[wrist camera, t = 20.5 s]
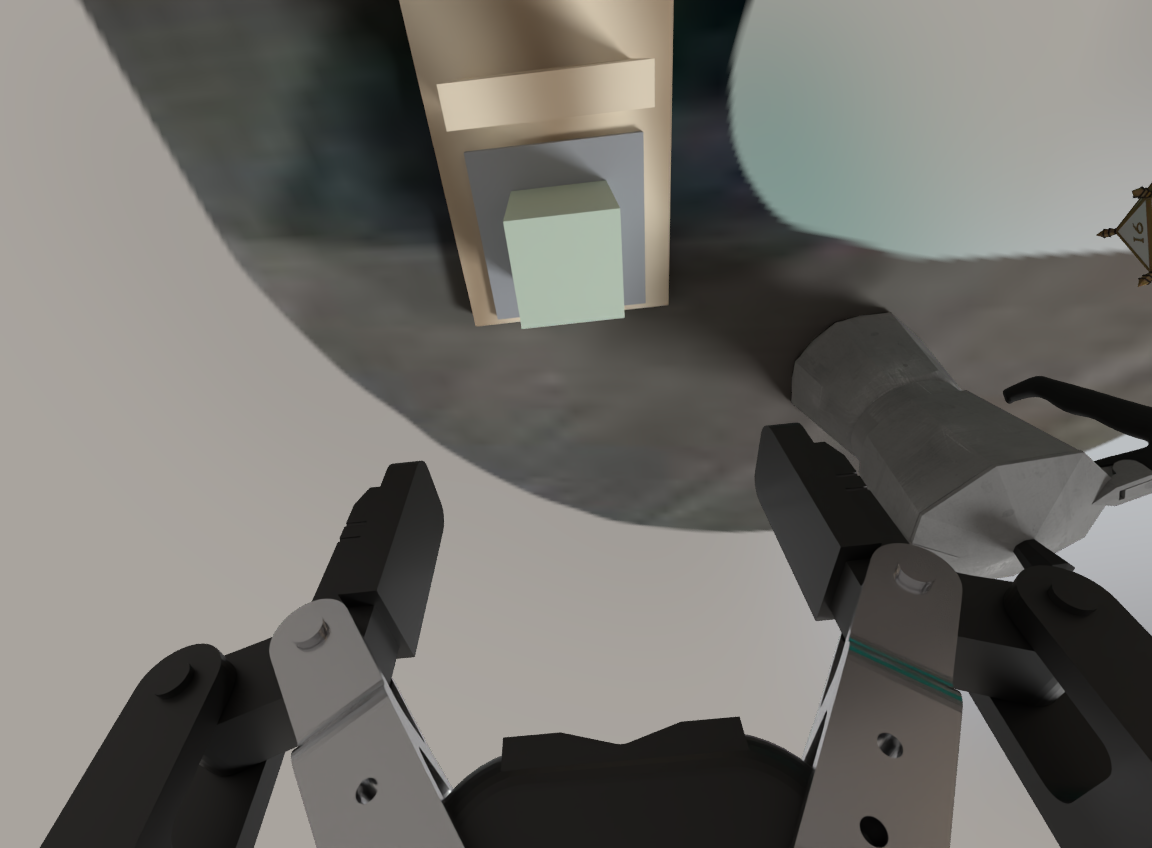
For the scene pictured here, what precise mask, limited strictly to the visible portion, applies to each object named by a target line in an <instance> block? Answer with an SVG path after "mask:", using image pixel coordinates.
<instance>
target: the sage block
mask: <svg viewBox="0 0 1152 848" xmlns="http://www.w3.org/2000/svg"><path fill="white" fill-rule="evenodd" d="M503 224H504V230H505V236H506V241H507V247H508V253H509V258H510V264H511V270H512V275H513V281H514V287H515V293H516V298H517V304H518V310H519V315H520V321H521V327H522V329H527V328H536V327H545V326H554V325H563V324H572V323H581V322H590V321H599V320H608V319H617V318H625V314H624V289H623V264H622V239H621V214H620V207H619V205H618V203H617V201H616V199H615V197H614V195H613V193H612V191H611V189H610V187H609V185H608V183H607V181H606V180H604V181H595V182H587V183H578V184H569V185H561V186H552V187H543V188H535V189H526V190H517V191H511V193H510V197H509V200H508V204H507V208H506V212H505V216H504V220H503Z"/></svg>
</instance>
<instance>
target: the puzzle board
mask: <svg viewBox="0 0 1152 848" xmlns="http://www.w3.org/2000/svg"><path fill="white" fill-rule="evenodd" d="M399 2H400V6H401V10H402V15H403V19H404V23H405V27H406V32H407V36H408V40H409V44H410V49H411V53H412V57H413V61H414V66H415V70H416V74H417V78H418V83H419V87H420V91H421V95H422V100H423V104H424V108H425V112H426V117H427V121H428V125H429V129H430V134H431V138H432V142H433V146H434V151H435V155H436V159H437V163H438V168H439V172H440V176H441V180H442V185H443V189H444V193H445V197H446V202H447V206H448V210H449V214H450V218H451V223H452V227H453V231H454V235H455V240H456V244H457V248H458V252H459V257H460V261H461V265H462V269H463V274H464V278H465V282H466V286H467V291H468V295H469V299H470V303H471V308H472V312H473V316H474V320H475V325H476V326H484V325H493V324H502V323H511V322H520V317H517V318H508V319H499V320H498V318H497V313H496V308H495V303H494V299H493V294H492V289H491V284H490V279H489V274H488V269H487V264H486V260H485V255H484V250H483V245H482V240H481V235H480V230H479V225H478V220H477V216H476V211H475V206H474V201H473V196H472V191H471V186H470V181H469V177H468V172H467V167H466V162H465V157H464V152H465V151H474V150H482V149H491V148H499V147H508V146H516V145H525V144H534V143H542V142H551V141H559V140H568V139H576V138H585V137H593V136H602V135H611V134H619V133H628V132H636V131H643V138H644V217H645V295H646V303H643V304H634V305H625V306H624V310H628V309H637V308H646V307H655V306H664V305H668V302H669V241H670V180H671V119H672V58H673V0H399Z"/></svg>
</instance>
